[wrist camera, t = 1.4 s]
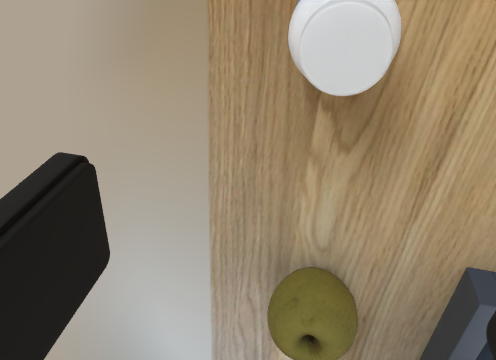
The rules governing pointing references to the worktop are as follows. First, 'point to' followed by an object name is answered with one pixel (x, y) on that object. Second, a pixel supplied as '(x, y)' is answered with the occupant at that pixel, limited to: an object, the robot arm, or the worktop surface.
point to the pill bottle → (344, 42)
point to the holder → (465, 320)
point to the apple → (312, 316)
